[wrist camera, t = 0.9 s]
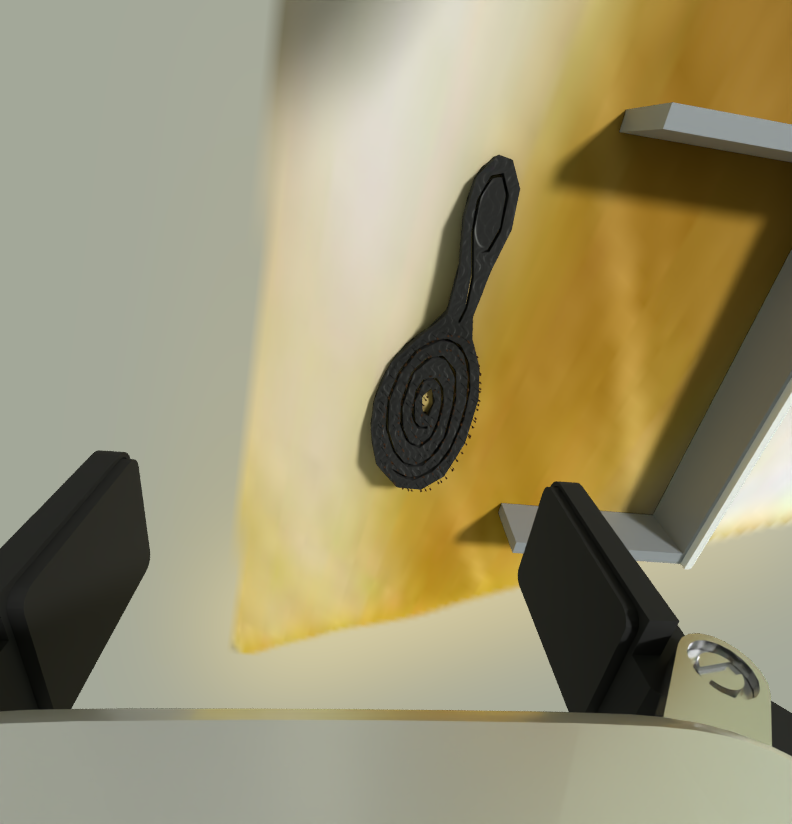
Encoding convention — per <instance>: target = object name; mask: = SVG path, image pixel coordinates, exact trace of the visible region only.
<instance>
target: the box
mask: <svg viewBox="0 0 792 824" xmlns="http://www.w3.org/2000/svg"><path fill="white" fill-rule="evenodd" d="M620 132H622V133H627V134H633V135H639V136H644V137H650V138H656V139H661V140H667V141H673V142H678V143H684V144H690V145H695V146H701V147H707V148H712V149H718V150H724V151H730V152H735V153H741V154H747V155H752V156H758V157H764V158H769V159H775V160H781V161H786V162H792V125H791V124H786V123H780V122H775V121H769V120H764V119H759V118H753V117H748V116H743V115H737V114H732V113H727V112H721V111H716V110H710V109H705V108H700V107H694V106H689V105H684V104H678V103H673V102H672V103H665V104H659V105H653V106H646V107H640V108H634V109H627V110H626V113H625V116H624V119H623V122H622V125H621V129H620ZM791 406H792V250H791V251H790V253H789V255H788V257H787V259H786V261H785V263H784V265H783V267H782V269H781V271H780V273H779V274H778V276H777V278H776V280H775V282H774V284H773V286H772V288H771V290H770V292H769V294H768V296H767V297H766V299H765V301H764V303H763V305H762V307H761V309H760V311H759V313H758V315H757V317H756V319H755V320H754V322H753V324H752V326H751V328H750V330H749V332H748V334H747V336H746V338H745V340H744V341H743V343H742V345H741V347H740V349H739V351H738V353H737V355H736V357H735V359H734V361H733V363H732V364H731V366H730V368H729V370H728V372H727V374H726V376H725V378H724V380H723V382H722V384H721V386H720V387H719V389H718V391H717V393H716V395H715V397H714V399H713V401H712V403H711V405H710V407H709V409H708V410H707V412H706V414H705V416H704V418H703V420H702V422H701V424H700V426H699V428H698V430H697V432H696V433H695V435H694V437H693V439H692V441H691V443H690V445H689V447H688V449H687V451H686V453H685V454H684V456H683V458H682V460H681V462H680V464H679V466H678V468H677V470H676V472H675V474H674V476H673V477H672V479H671V481H670V483H669V485H668V487H667V489H666V491H665V493H664V495H663V497H662V499H661V500H660V502H659V504H658V506H657V508H656V510H655V512H654V514H653V515H646V514H633V513H621V512H608V511H600V512H601V513H602V515H603V516H604V517H605V519H606V520H607V522H608V523H609V524H610V526H611V527H612V528H613V530H614V531H615V533H616V534H617V535H618V537H619V538H620V540H621V541H622V542H623V544H624V545H625V547H626V548H627V549H628V551H629V552H630V553H631V555H632V556H633V558H634V559H635V560H636V561H647V562H663V563H677V564H681V565H682V566H683V568H684V569H691V568H692V566H693V565H694V563H695V561H696V560H697V558H698V557H699V555H700V553H701V552H702V550H703V549H704V547H705V545H706V544H707V542H708V540H709V539H710V537H711V536H712V534H713V532H714V531H715V529H716V528H717V526H718V524H719V523H720V521H721V519H722V518H723V516H724V515H725V513H726V511H727V510H728V508H729V506H730V505H731V503H732V502H733V500H734V498H735V497H736V495H737V493H738V492H739V490H740V489H741V487H742V485H743V484H744V482H745V480H746V479H747V477H748V476H749V474H750V472H751V471H752V469H753V467H754V466H755V464H756V463H757V461H758V459H759V458H760V456H761V454H762V453H763V451H764V450H765V448H766V446H767V445H768V443H769V442H770V440H771V438H772V437H773V435H774V433H775V432H776V430H777V429H778V427H779V425H780V424H781V422H782V420H783V419H784V417H785V416H786V414H787V412H788V411H789V409H790V407H791ZM537 510H538V506H531V505H518V504H505V503H501V507H500V510H499V516H500V519H501V522H502V524H503V527H504V530H505V533H506V535H507V538H508V541H509V544H510V547H511V549H512V552H513V553H524V551H525V547H526V544H527V541H528V538H529V535H530V532H531V529H532V525H533V522H534V519H535V516H536V513H537Z"/></svg>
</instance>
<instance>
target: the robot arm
mask: <svg viewBox="0 0 792 824" xmlns="http://www.w3.org/2000/svg"><path fill="white" fill-rule="evenodd" d="M149 561H150V549H149V541H148V534H147V527H146V519H145V511H144V504H143V497H142V489H141V482H140V474H139V467H138V463H137V461H136V460H134V459H130V457H129V455H128V453H126V452H114V451H96V452H94V453H93V454H92V455H91V456H90V457H89V458H88V459H87V460H86V461H85V462H84V463H83V464H82V465H81V466H80V468H78V469H77V470H76V472H75V473H74V474H73V475H72V476H71V477H70V478H69V479H68V480H67V481H66V482H65V483H64V484H63V485H62V486H61V487H60V488H59V489H58V490H57V491H56V492H55V493H54V494H53V495H52V496H51V497H50V498H49V499H48V500H47V501H46V503H44V505H43V506H42V507H41V508H40V509H39V510H38V511H37V512H36V513H35V514H34V515H33V516H32V517H31V518H30V519H29V520H28V521H27V522H26V523H25V524H24V525H23V526H22V527H21V528H20V529H19V530H18V531H17V532H16V533H15V534H14V535H13V536H12V537H11V538H10V539H9V540H8V541H7V542H6V543H5V544H4V545H3V546H2V547H1V548H0V824H792V713H790V712H789V711H787V710H786V709H784V708H782V707H781V706H779V705H777V704H776V703H774V702H772V701H771V693H770V689H769V685H768V682H767V681H766V679H765V677H764V676H763V674H762V672H761V671H760V670H759V669H758V668H757V667H756V665H755V664H754V663H753V662H752V661H751V660H750V659H749V658H748V657H746V656H745V655H744V654H743V653H741V652H740V651H739V650H738V649H736V648H735V647H733V646H731V645H730V644H728V643H726V642H725V641H722V640H720V639H718V638H715V637H713V636H709V635H705V634H700V633H694V634H688V635H686V636H685V635H684V634H683V632H682V631H681V629H680V628H679V627H678V623H679V620H678V619H677V617H676V616H675V615H674V613H673V612H672V610H671V609H670V608H669V607H668V605H667V603H666V602H665V601H664V599H663V598H662V596H661V595H660V594H659V592H658V591H657V590H656V588H655V587H654V585H653V584H652V583H651V581H650V580H649V578H648V577H647V576H646V574H645V573H644V572H643V570H642V569H641V567H640V566H639V565H638V563H637V562H636V560H635V559H634V558H633V556H632V555H631V553H630V552H629V551H628V549H627V548H626V547H625V545H624V544H623V542H622V541H621V540H620V538H619V537H618V535H617V534H616V533H615V531H614V530H613V528H612V527H611V526H610V524H609V523H608V522H607V520H606V519H605V517H604V516H603V515H602V513H601V512H600V510H599V509H598V508H597V506H596V505H595V503H594V502H593V501H592V499H591V498H590V497H589V495H588V494H587V492H586V491H585V490H584V488H583V487H582V486H581V485H580V484H579V483H571V482H557V481H556V482H553V484H552V485H551V487H546V488H545V489H544V491H543V494H542V497H541V500H540V503H539V506H538V510H537V513H536V516H535V519H534V522H533V525H532V529H531V532H530V535H529V538H528V541H527V544H526V547H525V551H524V554H523V557H522V560H521V563H520V566H519V570H518V582H519V586H520V588H521V591H522V593H523V596H524V599H525V601H526V604H527V606H528V608H529V611H530V614H531V616H532V619H533V621H534V624H535V627H536V629H537V632H538V634H539V637H540V639H541V642H542V645H543V647H544V650H545V652H546V655H547V657H548V660H549V663H550V665H551V667H552V670H553V673H554V675H555V678H556V680H557V683H558V685H559V688H560V691H561V693H562V696H563V698H564V701H565V703H566V706H567V708H568V711H569V712H536V711H534V712H532V711H465V710H464V711H463V710H373V709H372V710H370V709H181V708H178V709H177V708H169V709H168V708H165V709H164V708H159V709H158V708H156V709H154V708H118V709H71V708H72V706H73V704H74V703H75V701H76V699H77V697H78V695H79V693H80V692H81V690H82V688H83V686H84V684H85V682H86V681H87V679H88V677H89V675H90V673H91V671H92V669H93V668H94V666H95V664H96V662H97V660H98V658H99V657H100V655H101V653H102V651H103V649H104V647H105V645H106V644H107V642H108V640H109V638H110V636H111V635H112V633H113V631H114V629H115V627H116V625H117V624H118V622H119V620H120V617H121V616H122V614H123V613H124V611H125V609H126V607H127V605H128V603H129V602H130V600H131V598H132V596H133V594H134V592H135V590H136V589H137V587H138V585H139V583H140V581H141V580H142V578H143V576H144V574H145V572H146V570H147V568H148V565H149Z"/></svg>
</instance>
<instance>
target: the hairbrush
mask: <svg viewBox="0 0 792 824" xmlns="http://www.w3.org/2000/svg"><path fill="white" fill-rule="evenodd" d="M486 164H487V163H486ZM483 167H484V166H483ZM483 167H482V168H483ZM482 168H481V169H482ZM481 169H480V171H481ZM480 171H479V172H478V174H477V175H476V177H475V178H474V181H473V183H472V186H471V189H470V192H469V195H468V198H467V202H466V206H465V210H464V213H463V219H462V231H461V242H460V254H459V264H458V268H457V272H456V276H455V280H454V284H453V288H452V292H451V296H450V300H449V304H448V307H447V310H446V311H445V312H444V313H443V314H442V315H441V316H440V317H439V318H438V319H437V320H436V321H435V322H434V323H433V324H432V325H430V326H429V327H428V328H427V329H426V330H424V331H423V332H421V333H420V334H419V335H417V336H416V337H415V338H413V339H412V341H411V342H410V343H409V344H408V345H407V346H405V345H406V344H407V343H406V344H405V345H404V346H405V347H403V348H402V349H401V351H400V352H399V353H398V354H397V355H396V356H395V357H394V359H393V361H392V362H391V364H390V366H389V367H388V369H387V371H386V372H385V374H384V376H383V377H382V379H381V382H380V385H379V388H378V391H376V392H377V394H376V396H375V400H374V403H373V411H372V419H371V435H372V445H373V450H374V455H375V460H376V464H377V465H378V467H379V468H380V469H381V470H382V471H383V473H384V474H385V475H386V476H387V477H388V478H389V479H390V480H391V481H392V482H393V483H394V485H395V486H396V487H399V488H402V489H403V488H407V489H408V488H410V489H411V491H412V489H423V488H424V489H425V487H426V486H428V485H430V484H431V483H433V482H435V481H437V480H438V479H440V478H442V477H444V476H445V474H446V472H447V471H448V469H449V468H450V466H451V464H452V463H453V461H454V460H455V459H456V456H457V455H458V453H459V452H460V450H461V449H462V447H463V445H464V444H466V443H465V441H466V438H467V436H468V435H469V434H468V432H469V428H470V425H471V422H472V420H473V415H474V412H475V409H476V406H477V402H478V401H479V402H480V400H478V397H479V393H480V392H481V391H479V389H480V388H479V383H480V384H481V382H479V375H480V376H481V373H480V372H479V369H480V368H479V367H480V366H479V364H478V360H477V358H478V356H476V352H475V347H474V344H473V340H472V331H473V316H474V313H475V310H476V308H477V305H478V303H479V300H480V298H481V295H482V293H483V290H484V287H485V285H486V282H487V280H488V277H489V275H490V272H491V270H492V268H493V266H494V264H495V262H496V260H497V258H498V256H499V254H500V252H501V250H502V248H503V246H504V244H505V242H506V240H507V238H508V236H509V234H510V232H511V230H512V225H513V220H514V216H515V211H516V206H517V201H518V196H519V191H520V187H519V183H518V179H517V175H516V171H515V167H514V163H513V160H511V159H509V158H506V157H503V156H501V155H497V156H494V157H493V158H492V159H491V160H490V161H489V163H488V164H487V165H486V166H485V168H484V169H483V170H482V171H481V172H480ZM479 173H480V174H479ZM496 174H501V176H502V177H498V178H493V179H492V178H491V180H489V178H490V176H492V175H496ZM488 180H489V182H488ZM487 182H488V183H487ZM486 183H487V184H486ZM505 193H506V194H505ZM480 194H481V195H480ZM479 196H480V198H479V201H478V205H477V208H476V202H477V199H478V197H479ZM505 197H506V198H505ZM504 202H505V203H504ZM475 208H476V210H475ZM498 230H499V231H498ZM471 232H472V278H471ZM497 232H498V233H497ZM494 237H495V238H494ZM493 239H494V240H493ZM490 244H491V245H490ZM487 249H488V250H487ZM470 278H471V283H470ZM469 284H470V288H469ZM468 289H469V292H468ZM467 295H468V297H467ZM466 300H467V302H466ZM430 341H431V342H430ZM453 341H454V342H456V343H458V344H460V346H461V347H462V349H463V351H464V353H465V355H466V356H467V357H466V358H467V361H468V368H469V375H468V373H467V372H468V371H467V368H466V363H465V358H464V355H463V353H462V351H460V350H461V349H460V348H459V347H458V346H457V345H456V344H455V343H454V342H453ZM425 344H426V345H425ZM417 349H418V350H417ZM416 350H417V351H416ZM414 352H415V353H414ZM413 353H414V354H413ZM412 354H413V355H412ZM411 355H412V356H411ZM410 356H411V357H410ZM438 356H440V357H438ZM441 356H444V357H445V358H446V359H447V360H448V362H449V363H450V364H451V365H452V367H453V368H454V370H455V372H456V393H454V383H455V378H454V375H453V372H452V370H451V368H450V366H449V364H448V363H447V361H446V359H444V358H441ZM430 357H432V358H430ZM409 358H410V359H409ZM426 358H429V359H427V360H425V359H426ZM407 360H408V361H407ZM424 360H425V361H424ZM406 361H407V363H406ZM404 364H405V365H404ZM403 365H404V367H403V368H402V370H401V372H399V370H400V369H401V367H402V366H403ZM417 366H418V367H417ZM416 367H417V368H416ZM413 370H414V373H413V375H412V377H410V375H411V372H412V371H413ZM398 372H399V373H400V374H399V376H398V377H397V374H398ZM468 376H469V379H468ZM396 377H397V380H395V379H396ZM409 378H410V381H409V383H408V380H409ZM433 378H437V379H438V380H439V382H440V383H441V385H442V390H443V401H442V406H441V396H442V395H441V388H440V385H439V384H438V382H437V381H436V380H434V379H433ZM422 380H423V382H422ZM394 381H395V384H394ZM468 381H470V382H469V389H468V388H467V382H468ZM421 382H422V384H421V385H420V383H421ZM407 383H408V385H407ZM393 384H394V387H393V389H392V386H393ZM419 385H420V387H419V388H418V386H419ZM406 387H407V389H406V393H405V396H404V391H405V388H406ZM417 388H418V391H417V392H416V397H415V399H414V396H415V391H416V389H417ZM430 389H432V392H433V405H432V407H431V408H430V410H429V412H428V414H425V413H426V412H423V409H422V405H423V404H422V397H423V395H424V394H426V393H427V392H428V391H429V390H430ZM391 390H392V393H391V397H390V396H389V394H390V391H391ZM468 390H469V391H468ZM480 390H481V389H480ZM467 392H468V398H467V397H466V396H467ZM453 393H454V396H455V399H454V403H453ZM388 396H389V397H388ZM402 396H404V399H403V401H401V399H402ZM389 398H390V399H389ZM423 398H424V397H423ZM427 398H428V396H427ZM466 398H467V403H466ZM388 399H389V400H390V401H389V406H388V429H389V433H390V436H391V439H392V442H393V446H394V448H393V446H392V443H391V441H390V439H389V437H388V435H387V425H386V412H387V401H388ZM424 399H425V398H424ZM425 401H427V400H426V399H425ZM401 402H403V409H402V424H401V421H400V411H401V406H402V404H401ZM413 402H414V404H413ZM452 403H453V404H454V405H453V406H452ZM465 404H466V406H465ZM413 406H414V416H415V422H416V423H415V422H414V420H413V414H412V410H413V409H412V408H413ZM423 406H424V405H423ZM440 406H441V408H442V409H441V412H440V415H439V411H440ZM478 406H479V404H478ZM452 408H453V409H452ZM464 408H465V410H464ZM451 409H452V410H451ZM463 411H465V412H464V413H463ZM477 411H478V409H477ZM450 412H451V414H450ZM462 414H463V416H462ZM438 415H439V417H438ZM449 416H450V417H449ZM461 418H462V419H461ZM474 418H475V417H474ZM448 419H449V421H448ZM461 420H462V421H461ZM475 420H476V418H475ZM473 421H474V420H473ZM474 422H475V423H476V421H474ZM447 423H448V426H447ZM435 424H436V425H435ZM402 425H403V428H404V431H405V433H406V435H407V437H408V438H406V436H405V434H404V431H403V428H402ZM446 427H447V429H446ZM472 428H474V427H473V426H472ZM433 429H434V430H433ZM445 430H446V432H445ZM468 437H469V438H470V437H471V436H470V435H469V436H468ZM466 445H467V444H466ZM394 449H395V450H394ZM395 451H396V452H395ZM396 453H397V454H396ZM461 453H462V454H463V452H461ZM456 461H457V462H458V460H456ZM451 470H452V471H453V470H454V468H453V469H451ZM445 478H446V479H447V477H445ZM440 481H441V480H440ZM441 483H442V481H441ZM438 484H439V482H438ZM428 487H429V486H428ZM430 490H431V488H430ZM408 491H409V489H408ZM425 491H426V489H425ZM420 492H422V490H420Z"/></svg>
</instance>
